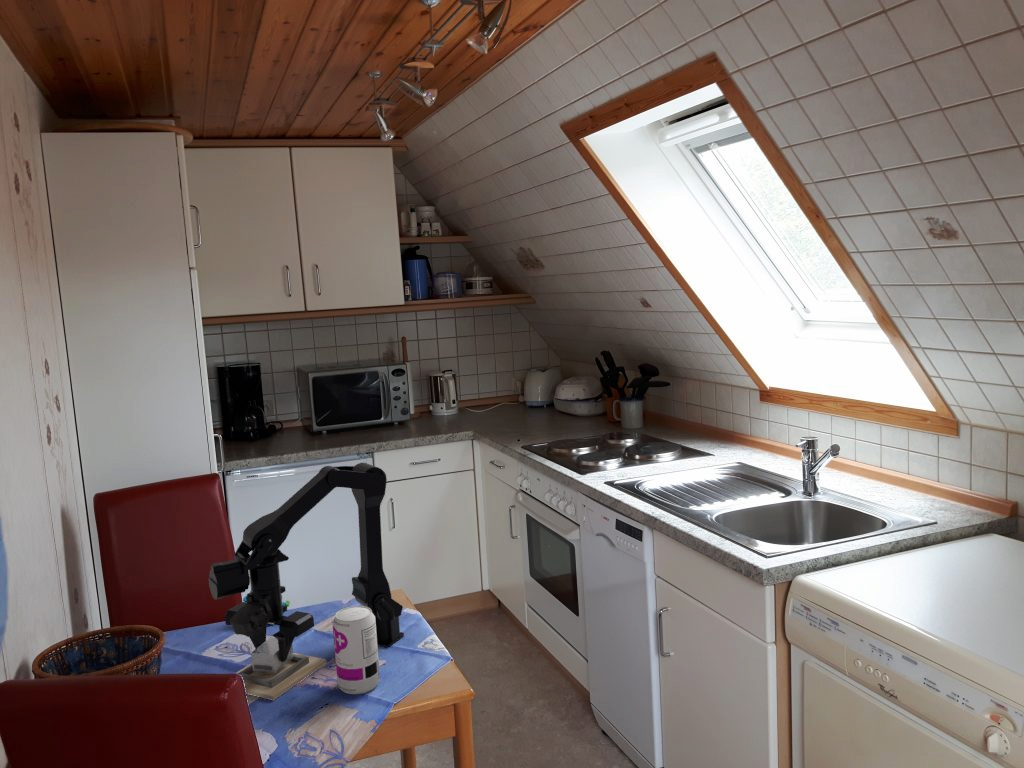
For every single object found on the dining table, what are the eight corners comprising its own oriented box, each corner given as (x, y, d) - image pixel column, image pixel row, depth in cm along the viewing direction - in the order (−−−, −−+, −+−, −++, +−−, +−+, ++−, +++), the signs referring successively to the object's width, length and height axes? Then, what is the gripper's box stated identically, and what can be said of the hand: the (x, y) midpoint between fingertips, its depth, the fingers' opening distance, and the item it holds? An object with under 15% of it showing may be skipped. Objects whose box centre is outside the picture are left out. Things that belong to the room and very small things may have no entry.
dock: (326, 663, 173) (325, 654, 173) (273, 701, 159) (272, 690, 159) (274, 653, 179) (273, 643, 179) (219, 688, 165) (218, 677, 165)
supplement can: (345, 700, 158) (338, 625, 156) (333, 682, 165) (327, 610, 163) (385, 688, 162) (380, 615, 160) (372, 671, 169) (367, 601, 167)
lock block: (293, 657, 172) (292, 638, 171) (274, 674, 165) (272, 655, 164) (272, 655, 173) (270, 637, 172) (252, 672, 166) (250, 653, 165)
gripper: (200, 594, 163) (208, 669, 166) (274, 607, 155) (281, 685, 157) (241, 574, 173) (248, 645, 175) (312, 585, 165) (319, 659, 167)
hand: (272, 658), depth 169 cm, fingers closed on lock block, 5 cm apart
